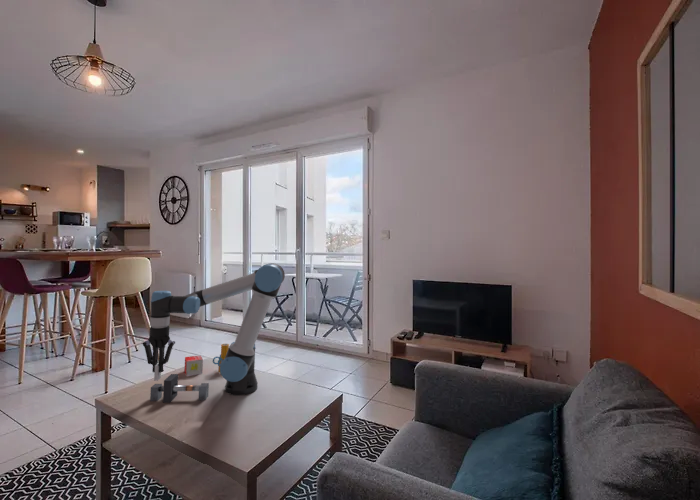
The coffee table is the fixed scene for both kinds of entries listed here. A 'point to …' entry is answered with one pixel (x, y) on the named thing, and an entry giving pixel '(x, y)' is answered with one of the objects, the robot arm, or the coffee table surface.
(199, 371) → the red gray cube
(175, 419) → the coffee table surface
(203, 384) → the rail
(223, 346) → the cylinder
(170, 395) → the dark gray notched block
